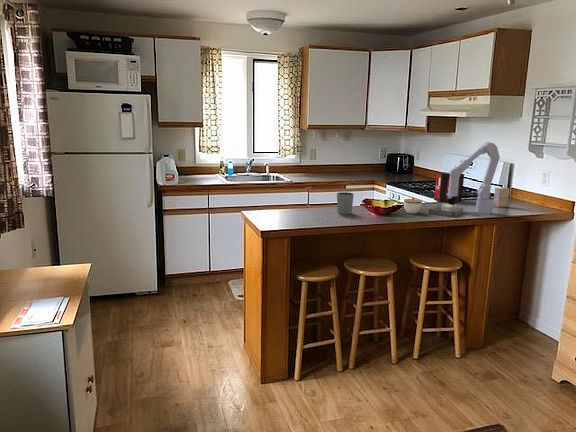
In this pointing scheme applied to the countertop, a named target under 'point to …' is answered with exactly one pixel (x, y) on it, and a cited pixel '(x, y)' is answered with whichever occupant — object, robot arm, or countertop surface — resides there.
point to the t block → (449, 207)
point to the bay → (437, 211)
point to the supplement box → (501, 197)
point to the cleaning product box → (446, 187)
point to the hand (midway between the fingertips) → (451, 208)
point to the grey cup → (344, 202)
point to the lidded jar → (412, 205)
